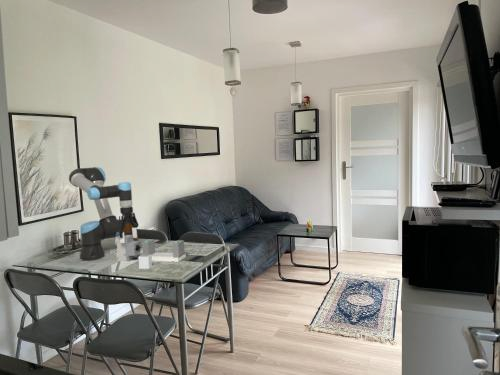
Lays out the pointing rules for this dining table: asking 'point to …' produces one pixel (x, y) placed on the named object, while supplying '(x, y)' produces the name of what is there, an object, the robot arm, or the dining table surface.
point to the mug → (129, 230)
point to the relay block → (145, 261)
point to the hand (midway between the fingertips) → (129, 240)
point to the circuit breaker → (127, 248)
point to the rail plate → (175, 256)
